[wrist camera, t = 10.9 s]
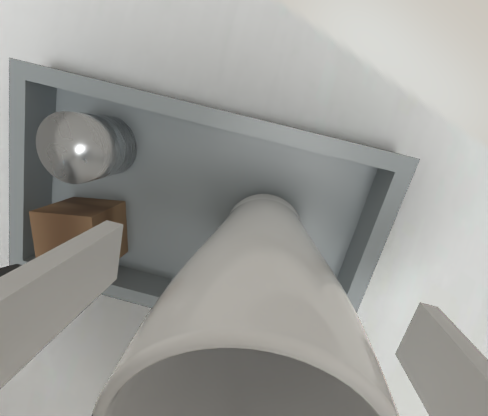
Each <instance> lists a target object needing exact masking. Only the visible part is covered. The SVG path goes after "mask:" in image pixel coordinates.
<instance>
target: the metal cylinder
mask: <svg viewBox="0 0 488 416" xmlns="http://www.w3.org/2000/svg"><path fill="white" fill-rule="evenodd" d="M36 149H37V153H38V156H39V159H40V161H41V163H42V164H43V166H44V167H45V168H46V170H47V171H48V172H49V173H50V174H51V175H53V176H54V177H55V178H57V179H58V180H60V181H63V182H65V183H69V184H82V183H86V182H90V181H93V180H97V179H101V178H104V177H108V176H112V175H115V174H119V173H122V172H124V171H126V170H127V169H129V168H130V167H131V165H132V164H133V162H134V160H135V158H136V154H137V144H136V139H135V136H134V134H133V132H132V131H131V129H130V128H129V127H128V125H127V124H126V123H124V122H123V121H122V120H120V119H118V118H116V117H113V116H108V115H98V114H88V113H78V112H68V111H61V112H55V113H53V114H50V115H49V116H47V117H46V118H45V119H44V120H43V121H42V122H41V124H40V126H39V127H38V130H37V134H36Z"/></svg>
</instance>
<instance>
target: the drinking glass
mask: <svg viewBox="0 0 488 416" xmlns="http://www.w3.org/2000/svg"><path fill="white" fill-rule="evenodd" d="M92 416H399V413H398V411H397V408H396V405H395V403H394V400H393V397H392V395H391V392H390V390H389V387H388V384H387V382H386V379H385V377H384V374H383V372H382V369H381V367H380V364H379V362H378V359H377V357H376V355H375V352H374V350H373V348H372V345H371V343H370V341H369V339H368V336H367V334H366V332H365V330H364V328H363V326H362V324H361V321H360V319H359V317H358V315H357V313H356V311H355V309H354V307H353V305H352V303H351V301H350V299H349V298H348V296H347V294H346V292H345V290H344V289H343V287H342V285H341V284H340V282H339V280H338V279H337V277H336V276H335V274H334V272H333V271H332V269H331V268H330V266H329V265H328V263H327V261H326V260H325V258H324V257H323V255H322V254H321V252H320V251H319V249H318V248H317V246H316V245H315V243H314V242H313V240H312V238H311V237H310V235H309V234H308V232H307V231H306V229H305V227H304V226H303V224H302V221H301V219H300V216H299V214H298V213H297V211H296V210H295V208H294V207H293V206H292V205H291V204H290V203H289V202H287V201H286V200H284V199H283V198H281V197H278V196H275V195H272V194H255V195H251V196H248V197H246V198H244V199H242V200H241V201H240V202H238V203H237V204H236V205H235V206H234V207H233V208H232V210H231V211H230V213H229V214H228V216H227V218H226V219H225V220H224V221H223V222H222V223H221V225H220V226H219V227H218V228H217V229H216V230H215V231H214V232H213V233H212V235H211V236H210V237H209V238H208V239H207V240H206V241H205V242H204V243H203V244H202V245H201V247H200V248H199V249H198V250H197V251H196V252H195V253H194V254H193V255H192V257H191V258H190V259H189V260H188V261H187V262H186V263H185V264H184V266H183V267H182V268H181V269H180V270H179V271H178V273H177V274H176V275H175V276H174V278H173V279H172V280H171V282H170V283H169V284H168V286H167V287H166V288H165V290H164V291H163V293H162V294H161V295H160V297H159V298H158V300H157V301H156V303H155V304H154V305H153V307H152V308H151V310H150V311H149V313H148V314H147V316H146V318H145V319H144V321H143V322H142V324H141V325H140V327H139V329H138V330H137V332H136V333H135V335H134V337H133V338H132V340H131V342H130V343H129V345H128V347H127V348H126V350H125V352H124V354H123V355H122V357H121V359H120V360H119V362H118V364H117V366H116V367H115V369H114V371H113V372H112V374H111V376H110V378H109V379H108V381H107V382H106V384H105V385H104V387H103V389H102V391H101V393H100V394H99V396H98V398H97V401H96V404H95V407H94V409H93V413H92Z"/></svg>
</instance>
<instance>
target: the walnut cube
mask: <svg viewBox="0 0 488 416" xmlns="http://www.w3.org/2000/svg"><path fill="white" fill-rule="evenodd" d="M29 217H30V223H31V230H32V237H33V243H34V250H35V256H36V258H37V257H39V256H40V255H42V254H44V253H46V252H48V251H50V250H52V249H54V248H55V247H57V246H59V245H61V244H63V243H65V242H67V241H69V240H70V239H72V238H74V237H76V236H78V235H80V234H82V233H84V232H85V231H87V230H89V229H91V228H93V227H95V226H97V225H99V224H100V223H102V222H104V221H106V220H108V221H112V222H116V223H120V224H123V232H122V241H121V249H120V257H119V259H120V258H121V257H122V256H123V255H125V254H126V253H127V252H128V239H127V220H126V202H125V201H119V200H107V199H95V198H83V197H71V198H68V199H65V200H62V201H59V202H56V203H53V204H50V205H47V206H44V207H41V208H37V209H34V210H31V211H29Z"/></svg>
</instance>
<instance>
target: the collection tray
mask: <svg viewBox="0 0 488 416" xmlns="http://www.w3.org/2000/svg"><path fill="white" fill-rule="evenodd" d="M61 111H68V112H78V113H88V114H98V115H108V116H113V117H116V118H118V119H120V120H122V121H123V122H124V123H126V124H127V125H128V127H129V128H130V129H131V131H132V132H133V134H134V136H135V139H136V144H137V154H136V158H135V160H134V162H133V164H132V165H131V167H130V168H129V169H127V170H126V171H124V172H122V173H119V174H115V175H112V176H108V177H104V178H101V179H97V180H93V181H90V182H86V183H82V184H69V183H65V182H63V181H60V180H58V179H57V178H55V177H54V176H53V175H51V174H50V173H49V172H48V171H47V170H46V168H45V167H44V166H43V164H42V163H41V161H40V159H39V156H38V153H37V149H36V134H37V130H38V127H39V126H40V124H41V122H42V121H43V120H44V119H45V118H46V117H47V116H49V115H50V114H53V113H55V112H61ZM419 160H420V159H418V158H414V157H409V156H405V155H401V154H397V153H393V152H389V151H385V150H381V149H377V148H373V147H369V146H365V145H361V144H357V143H353V142H349V141H345V140H341V139H337V138H333V137H329V136H324V135H320V134H316V133H312V132H308V131H304V130H300V129H296V128H292V127H288V126H284V125H280V124H276V123H272V122H268V121H264V120H260V119H256V118H252V117H248V116H244V115H239V114H235V113H231V112H227V111H223V110H219V109H215V108H211V107H207V106H203V105H199V104H195V103H191V102H187V101H183V100H179V99H175V98H171V97H167V96H163V95H158V94H154V93H150V92H146V91H142V90H138V89H134V88H130V87H126V86H122V85H118V84H114V83H110V82H106V81H102V80H98V79H94V78H90V77H86V76H82V75H78V74H73V73H69V72H65V71H61V70H57V69H53V68H49V67H45V66H41V65H37V64H33V63H29V62H25V61H21V60H17V59H13V58H9V266H10V265H14V264H20V265H24V264H25V263H27V262H29V261H31V260H33V259H35V258H36V256H35V250H34V243H33V237H32V230H31V223H30V217H29V211H31V210H34V209H37V208H41V207H44V206H47V205H50V204H53V203H56V202H59V201H62V200H65V199H68V198H71V197H83V198H95V199H107V200H119V201H125V202H126V220H127V239H128V252H127V253H126V254H125V255H123V256H122V257H121V258H120V259H119V265H118V273H117V279H116V280H115V281H114V282H113V283H112V284H111V285H110V286H109V287H108V288H107V289H106V290H105V291H104V292H103V293H101V294H102V295H105V296H109V297H113V298H116V299H120V300H124V301H127V302H131V303H135V304H138V305H142V306H146V307H150V308H152V307H153V305H154V304H155V303H156V301H157V300H158V298H159V297H160V295H161V294H162V293H163V291H164V290H165V288H166V287H167V286H168V284H169V283H170V282H171V280H172V279H173V278H174V276H175V275H176V274H177V273H178V271H179V270H180V269H181V268H182V267H183V266H184V264H185V263H186V262H187V261H188V260H189V259H190V258H191V257H192V255H193V254H194V253H195V252H196V251H197V250H198V249H199V248H200V247H201V245H202V244H203V243H204V242H205V241H206V240H207V239H208V238H209V237H210V236H211V235H212V233H213V232H214V231H215V230H216V229H217V228H218V227H219V226H220V225H221V223H222V222H223V221H224V220H225V219H226V218H227V216H228V214H229V213H230V211H231V210H232V208H233V207H234V206H235V205H236V204H237V203H238V202H240V201H241V200H242V199H244V198H246V197H248V196H251V195H255V194H272V195H275V196H278V197H281V198H283V199H284V200H286V201H287V202H289V203H290V204H291V205H292V206H293V207H294V208H295V210H296V211H297V213H298V214H299V216H300V219H301V221H302V224H303V226H304V227H305V229H306V231H307V232H308V234H309V235H310V237H311V238H312V240H313V242H314V243H315V245H316V246H317V248H318V249H319V251H320V252H321V254H322V255H323V257H324V258H325V260H326V261H327V263H328V265H329V266H330V268H331V269H332V271H333V272H334V274H335V276H336V277H337V279H338V280H339V282H340V284H341V285H342V287H343V289H344V290H345V292H346V294H347V296H348V298H349V299H350V301H351V303H352V305H353V307H354V309H355V311H356V313H357V311H358V308H359V306H360V303H361V301H362V299H363V296H364V294H365V291H366V289H367V286H368V284H369V282H370V279H371V277H372V274H373V272H374V269H375V267H376V265H377V262H378V260H379V257H380V255H381V252H382V250H383V248H384V245H385V243H386V240H387V238H388V235H389V233H390V231H391V228H392V226H393V223H394V221H395V219H396V216H397V214H398V211H399V209H400V206H401V204H402V202H403V199H404V197H405V194H406V192H407V189H408V187H409V185H410V182H411V180H412V177H413V175H414V172H415V170H416V168H417V165H418V163H419Z"/></svg>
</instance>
